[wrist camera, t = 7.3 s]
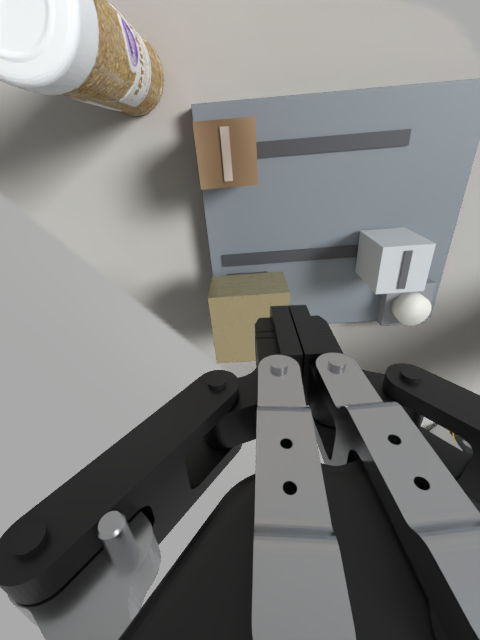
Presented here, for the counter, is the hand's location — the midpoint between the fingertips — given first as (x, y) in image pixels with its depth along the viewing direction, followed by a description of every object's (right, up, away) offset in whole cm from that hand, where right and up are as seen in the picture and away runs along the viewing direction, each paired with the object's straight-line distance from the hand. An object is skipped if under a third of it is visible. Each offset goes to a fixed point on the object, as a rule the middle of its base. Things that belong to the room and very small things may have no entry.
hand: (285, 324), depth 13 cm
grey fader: (+10, +6, +12) cm, 17 cm away
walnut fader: (-3, +12, +9) cm, 15 cm away
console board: (+5, +8, +13) cm, 16 cm away
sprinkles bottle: (-9, +17, +8) cm, 21 cm away
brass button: (-1, +1, +12) cm, 12 cm away
